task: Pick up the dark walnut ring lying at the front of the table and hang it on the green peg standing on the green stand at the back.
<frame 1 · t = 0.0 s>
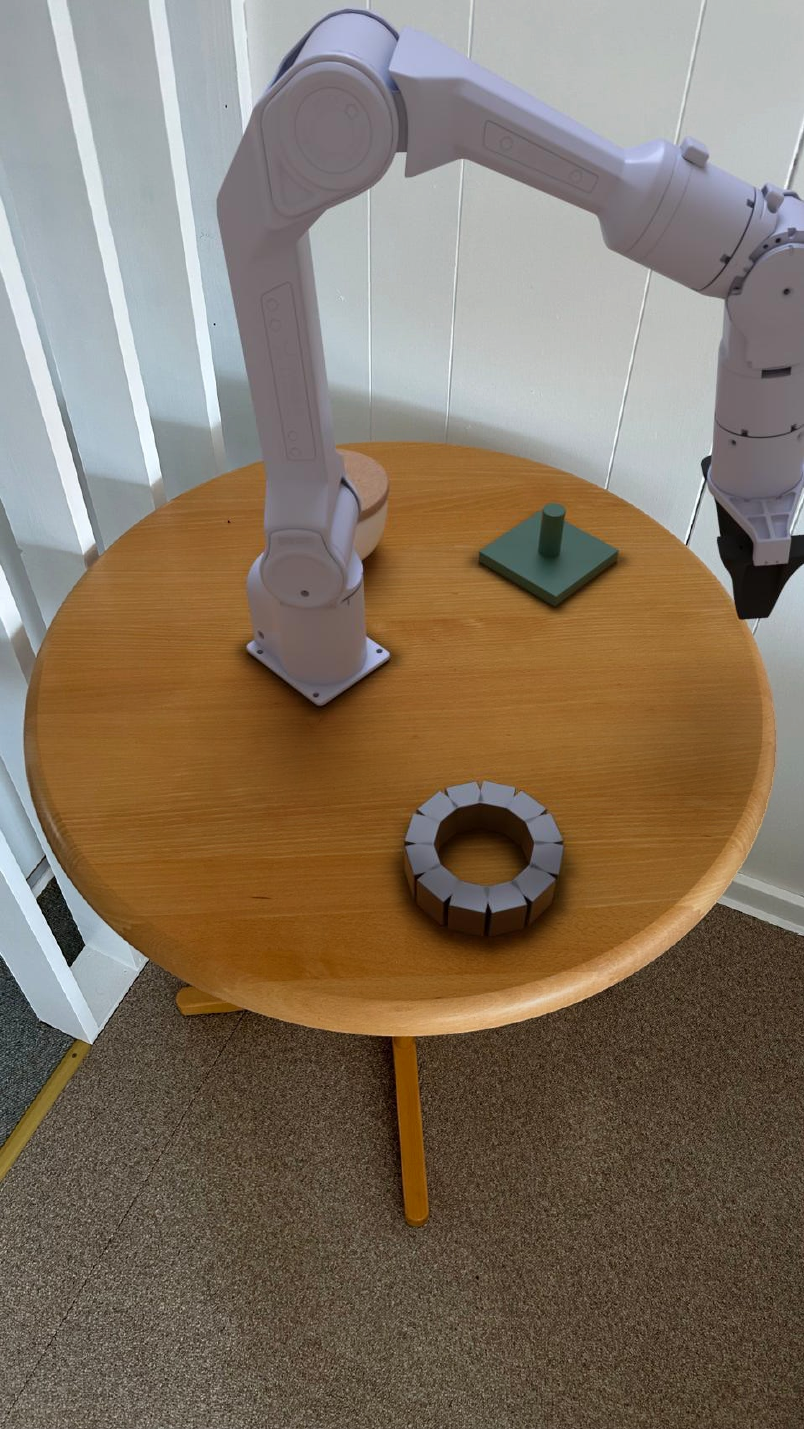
hand: (744, 580, 70), 11 cm above the table, tool pointing down, fingers open, 7 cm apart
peg stand: (547, 561, 89), on the table
trinket box: (333, 554, 90), on the table
ring: (481, 868, 66), on the table
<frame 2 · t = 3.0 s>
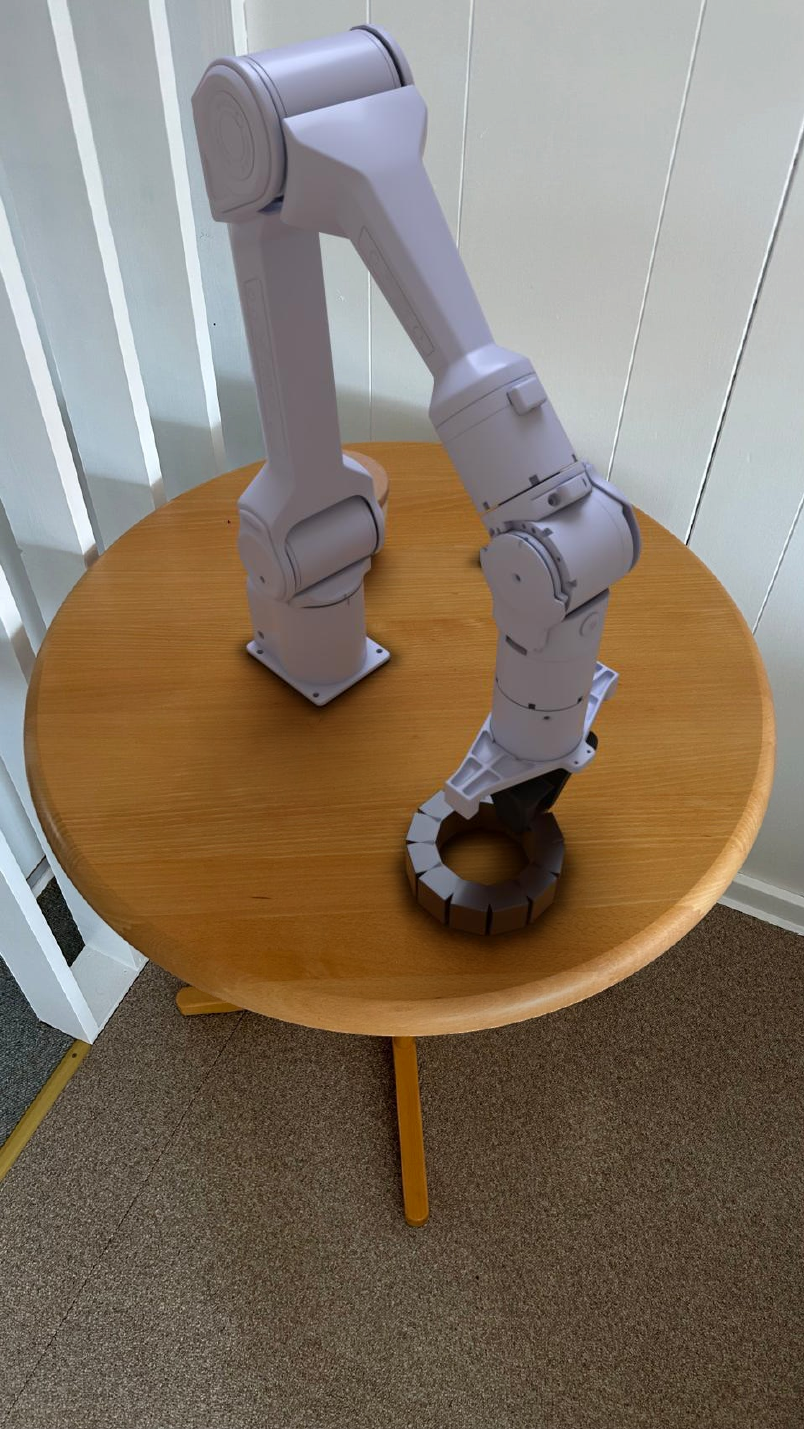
hand: (524, 813, 67), 2 cm above the table, tool pointing down, fingers closed on ring, 2 cm apart
ring: (483, 866, 67), on the table, touching gripper
everything else where it was.
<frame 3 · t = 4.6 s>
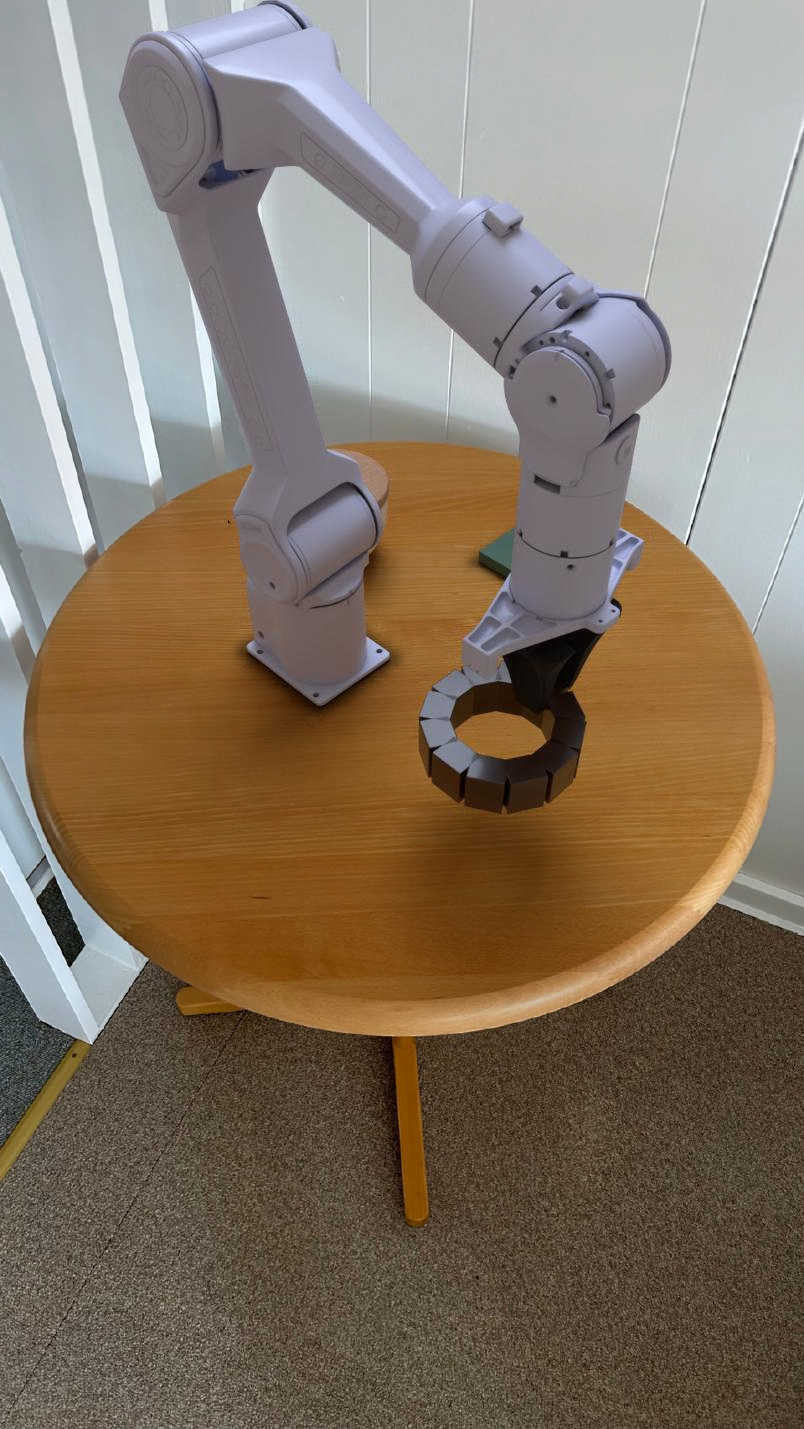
hand: (542, 694, 64), 10 cm above the table, tool pointing down, fingers closed on ring, 2 cm apart
ring: (499, 749, 64), point 8 cm above the table, touching gripper
everything else where it was.
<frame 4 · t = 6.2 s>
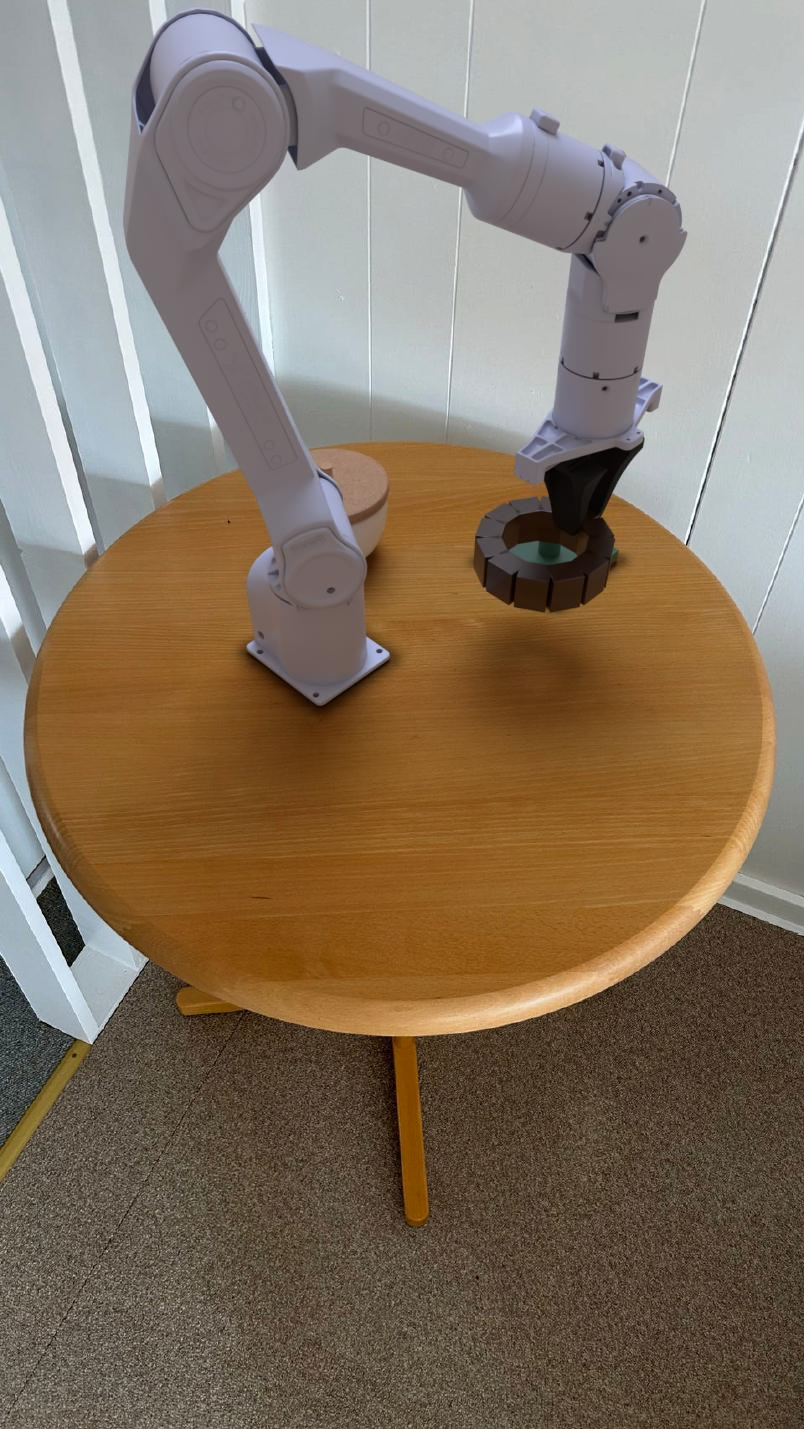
hand: (576, 521, 76), 10 cm above the table, tool pointing down, fingers closed on ring, 2 cm apart
ring: (541, 567, 76), point 8 cm above the table, touching gripper
everything else where it was.
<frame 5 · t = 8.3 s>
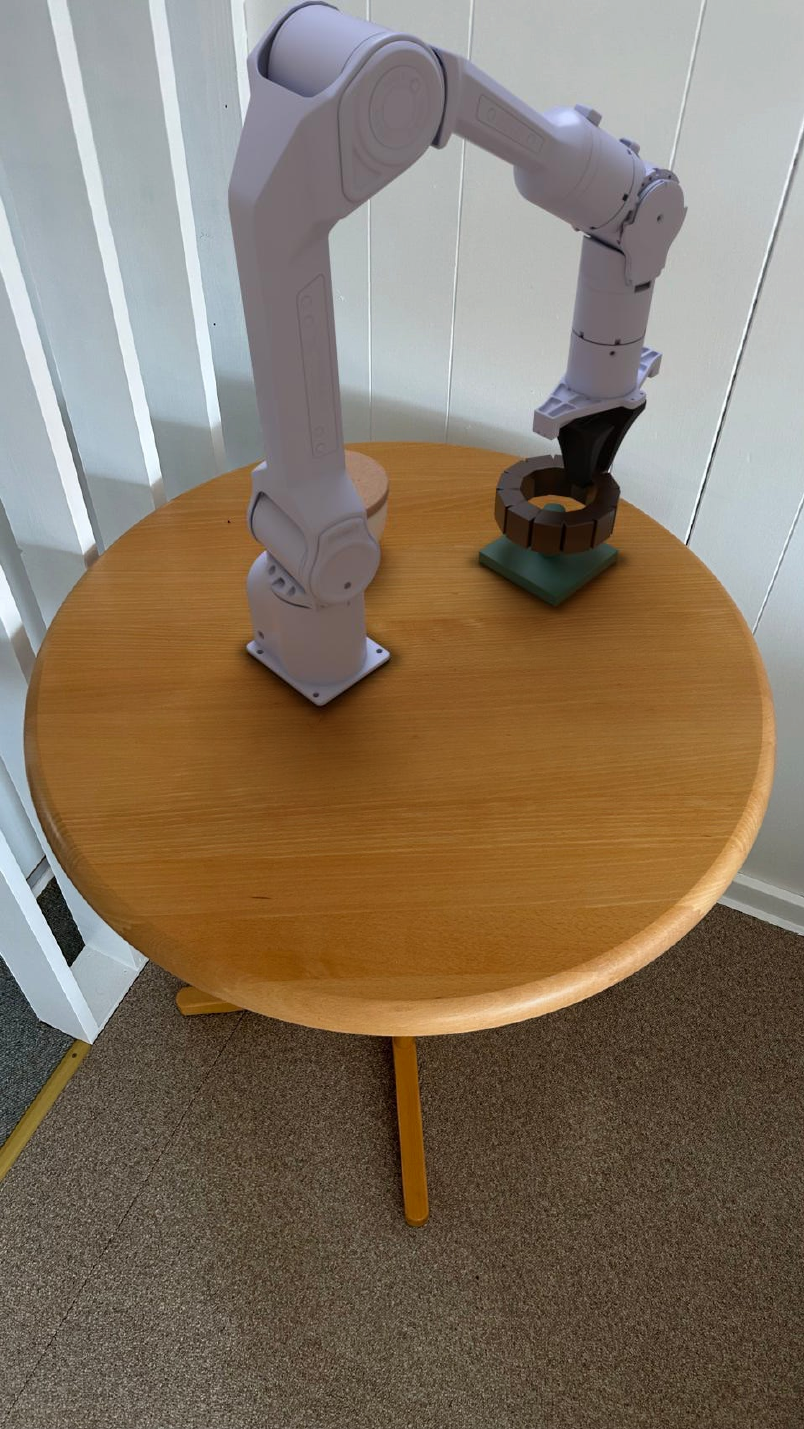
hand: (586, 477, 86), 7 cm above the table, tool pointing down, fingers closed on ring, 2 cm apart
ring: (554, 517, 85), point 5 cm above the table, touching gripper
everything else where it was.
when the fingers open (3 cm above the table, at t = 9.8 s): ring stays where it is, resting on peg stand.
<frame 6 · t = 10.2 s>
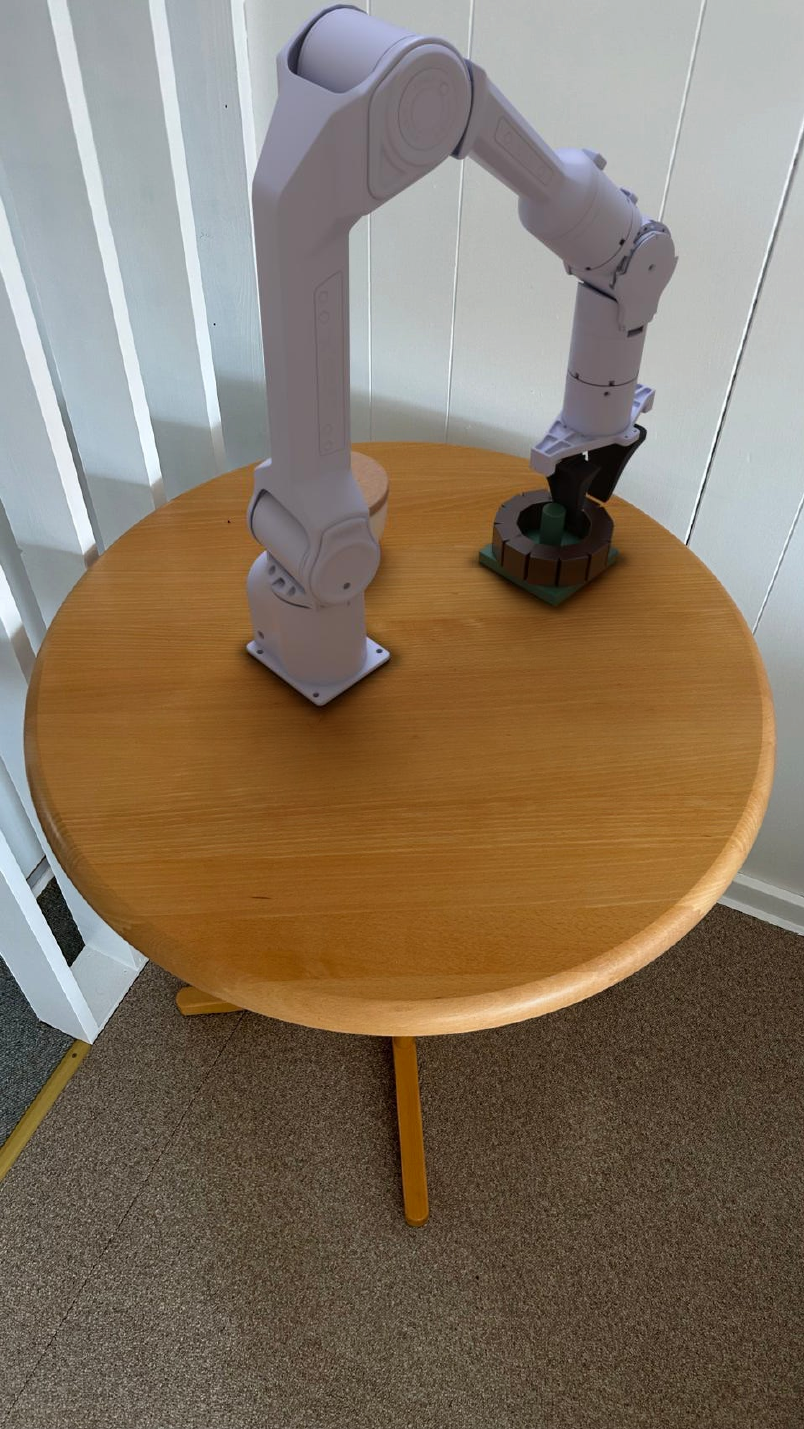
hand: (582, 508, 88), 4 cm above the table, tool pointing down, fingers open, 4 cm apart
ring: (550, 550, 88), point 1 cm above the table, touching peg stand
everything else where it was.
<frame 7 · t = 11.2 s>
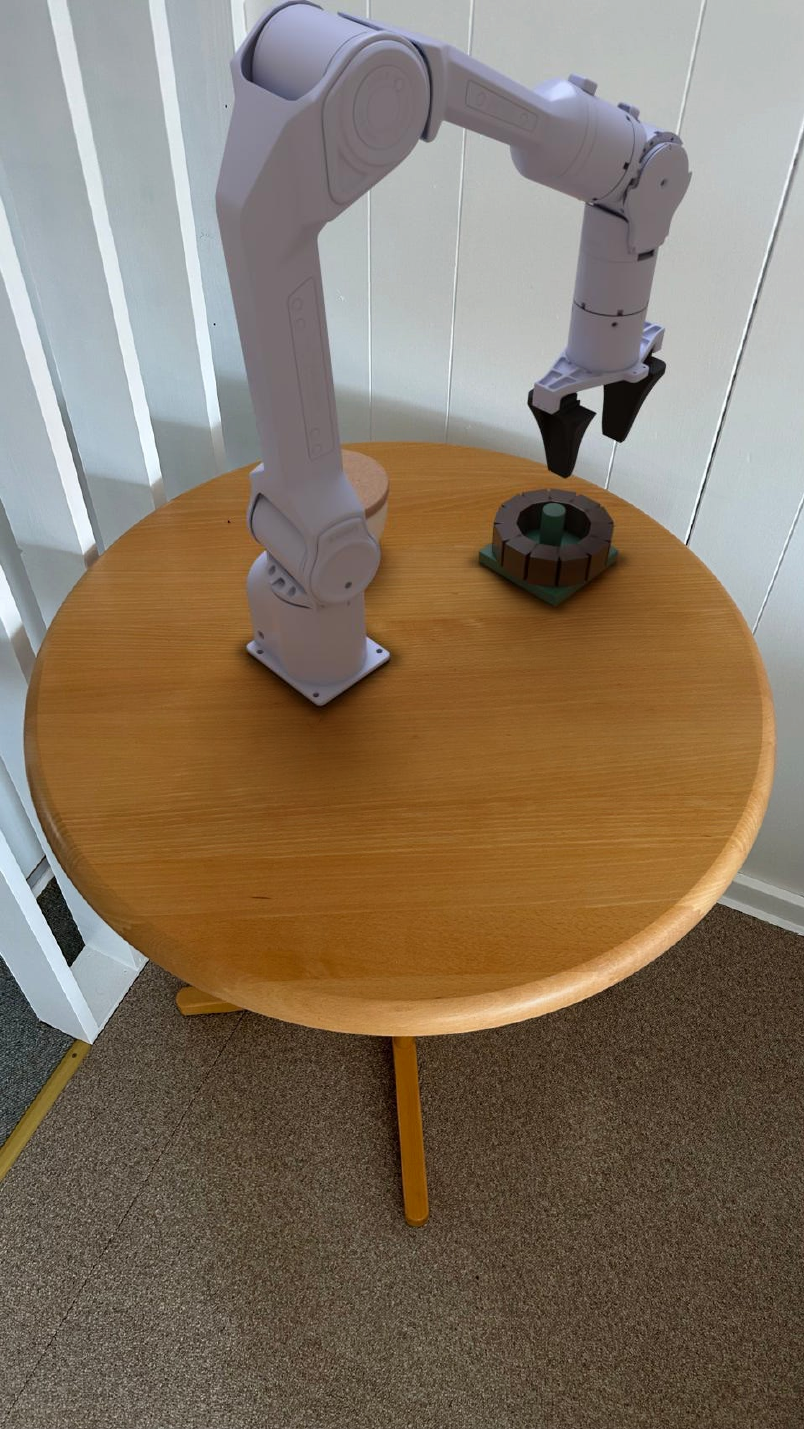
hand: (586, 454, 84), 9 cm above the table, tool pointing down, fingers open, 7 cm apart
nothing on the table moved.
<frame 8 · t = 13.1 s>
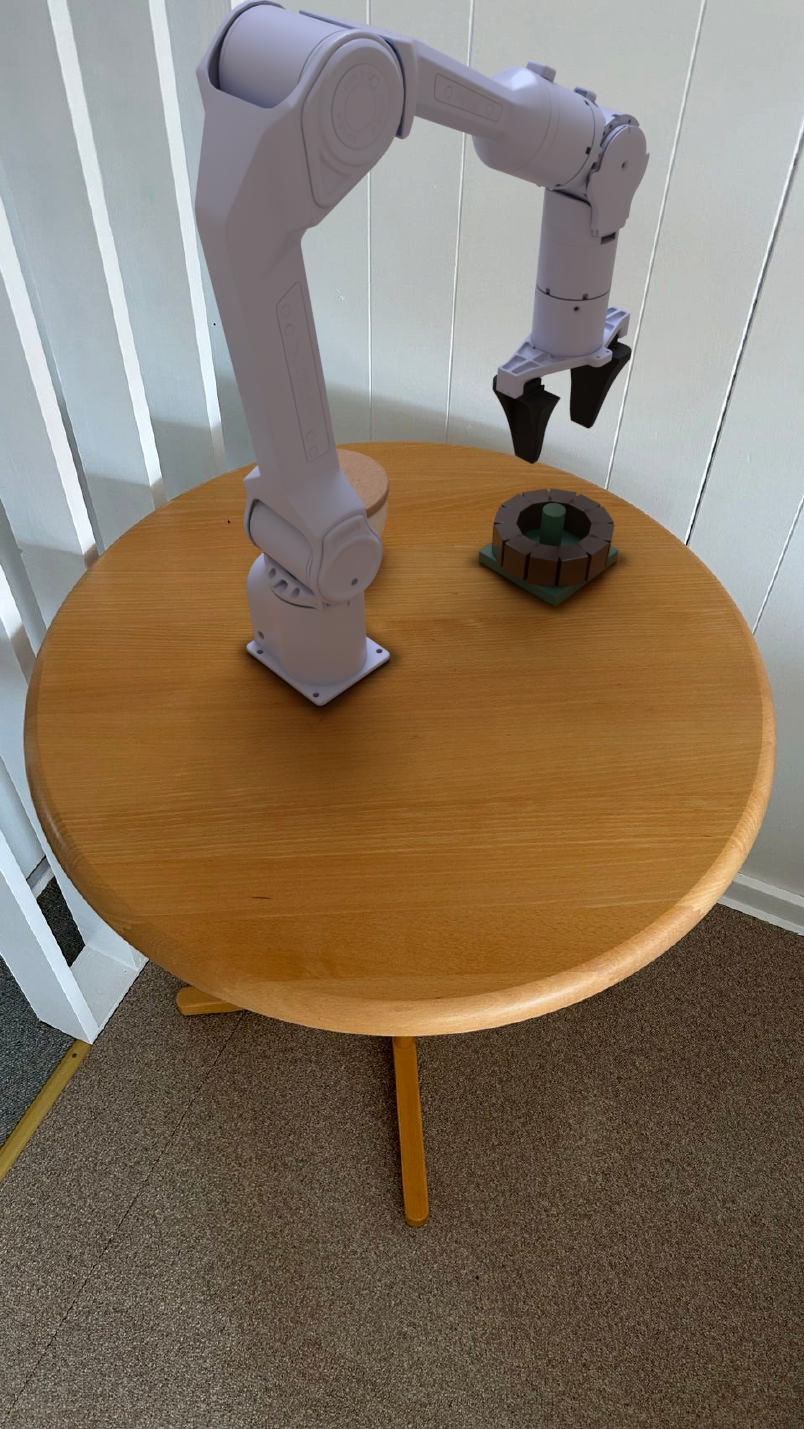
hand: (554, 440, 84), 10 cm above the table, tool pointing down, fingers open, 7 cm apart
nothing on the table moved.
at the end: ring 0.2 cm from the peg stand (horizontally); ring point 1.2 cm above the table; the gripper is holding nothing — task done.
